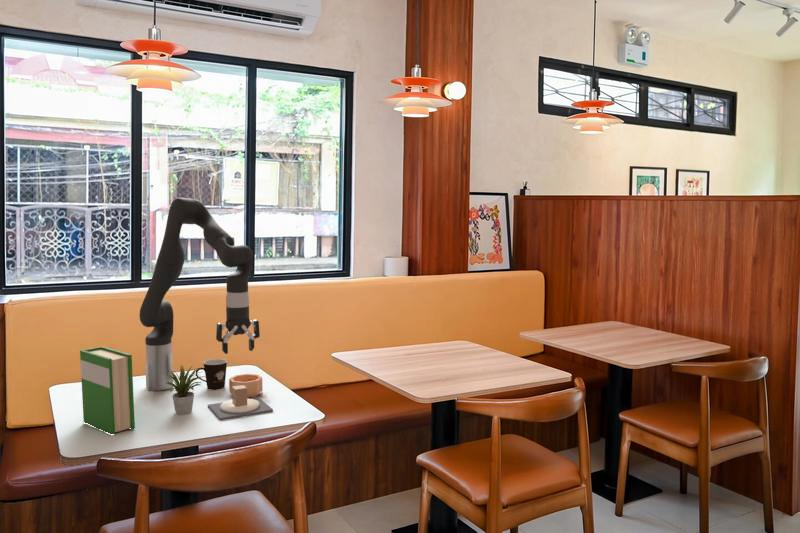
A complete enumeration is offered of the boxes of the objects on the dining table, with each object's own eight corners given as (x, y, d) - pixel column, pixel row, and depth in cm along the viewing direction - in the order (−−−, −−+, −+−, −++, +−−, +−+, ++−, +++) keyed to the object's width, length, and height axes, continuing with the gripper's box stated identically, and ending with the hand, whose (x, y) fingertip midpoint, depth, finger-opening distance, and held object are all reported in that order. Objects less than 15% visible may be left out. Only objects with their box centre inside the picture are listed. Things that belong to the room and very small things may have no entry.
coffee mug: (226, 383, 258) (226, 358, 257) (228, 389, 250) (227, 363, 249) (195, 386, 254) (194, 360, 253) (196, 392, 246) (195, 366, 245)
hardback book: (134, 429, 208) (131, 354, 205) (112, 436, 202) (108, 359, 199) (106, 417, 219) (102, 346, 216) (83, 423, 213) (79, 350, 210)
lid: (226, 415, 218) (225, 395, 218) (216, 404, 230) (215, 385, 229) (264, 409, 225) (264, 389, 224) (252, 399, 236) (252, 379, 235)
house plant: (186, 423, 214) (184, 373, 212) (151, 417, 218) (149, 369, 217) (213, 409, 227) (211, 363, 225) (179, 405, 232) (178, 359, 230)
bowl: (235, 400, 237) (235, 384, 236) (227, 392, 246) (226, 376, 246) (265, 395, 242) (265, 379, 242) (256, 388, 252) (255, 372, 251)
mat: (219, 420, 216) (219, 418, 216) (207, 406, 230) (207, 404, 230) (273, 411, 225) (273, 409, 225) (258, 399, 239) (258, 396, 238)
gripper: (254, 301, 230) (255, 347, 232) (213, 304, 223) (214, 351, 225) (261, 304, 223) (262, 352, 225) (219, 308, 216) (220, 356, 218)
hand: (238, 351), depth 225 cm, fingers open, 8 cm apart
